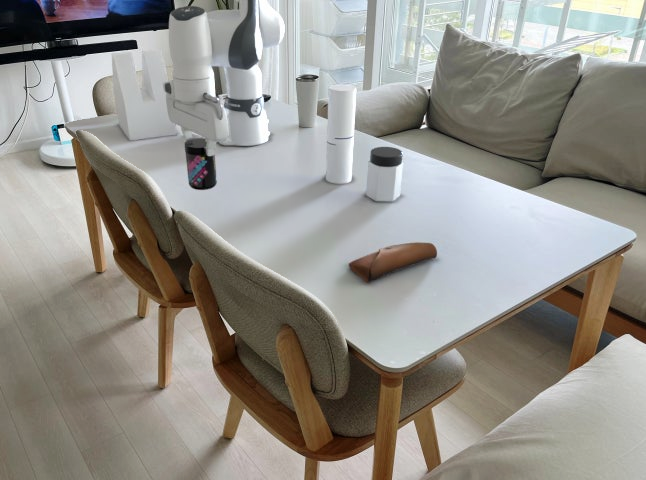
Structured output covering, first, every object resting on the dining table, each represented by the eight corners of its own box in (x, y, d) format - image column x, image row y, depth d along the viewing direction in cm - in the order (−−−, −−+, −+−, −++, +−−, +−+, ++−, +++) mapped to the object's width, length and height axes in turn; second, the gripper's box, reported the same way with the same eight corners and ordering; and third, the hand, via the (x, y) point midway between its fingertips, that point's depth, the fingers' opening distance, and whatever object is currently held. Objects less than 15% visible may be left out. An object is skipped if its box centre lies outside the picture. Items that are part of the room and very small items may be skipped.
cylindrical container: (349, 184, 161) (354, 91, 148) (323, 182, 162) (326, 89, 149) (352, 175, 167) (358, 85, 154) (328, 173, 168) (331, 83, 155)
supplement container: (184, 183, 142) (180, 140, 136) (211, 178, 144) (208, 136, 139) (194, 193, 137) (189, 149, 131) (221, 187, 139) (218, 145, 134)
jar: (398, 189, 158) (402, 146, 152) (402, 202, 151) (406, 157, 145) (364, 189, 158) (367, 146, 152) (367, 201, 152) (370, 157, 145)
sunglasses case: (410, 242, 131) (423, 225, 126) (427, 268, 129) (441, 251, 124) (345, 264, 123) (356, 247, 117) (362, 292, 120) (374, 275, 115)
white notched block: (118, 124, 206) (106, 48, 193) (162, 119, 211) (153, 45, 198) (130, 140, 191) (118, 59, 178) (176, 134, 197) (168, 55, 184)
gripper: (233, 96, 124) (237, 159, 131) (183, 78, 137) (189, 136, 144) (208, 101, 120) (213, 166, 127) (159, 82, 133) (166, 142, 141)
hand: (199, 150), depth 136 cm, fingers closed on supplement container, 7 cm apart
